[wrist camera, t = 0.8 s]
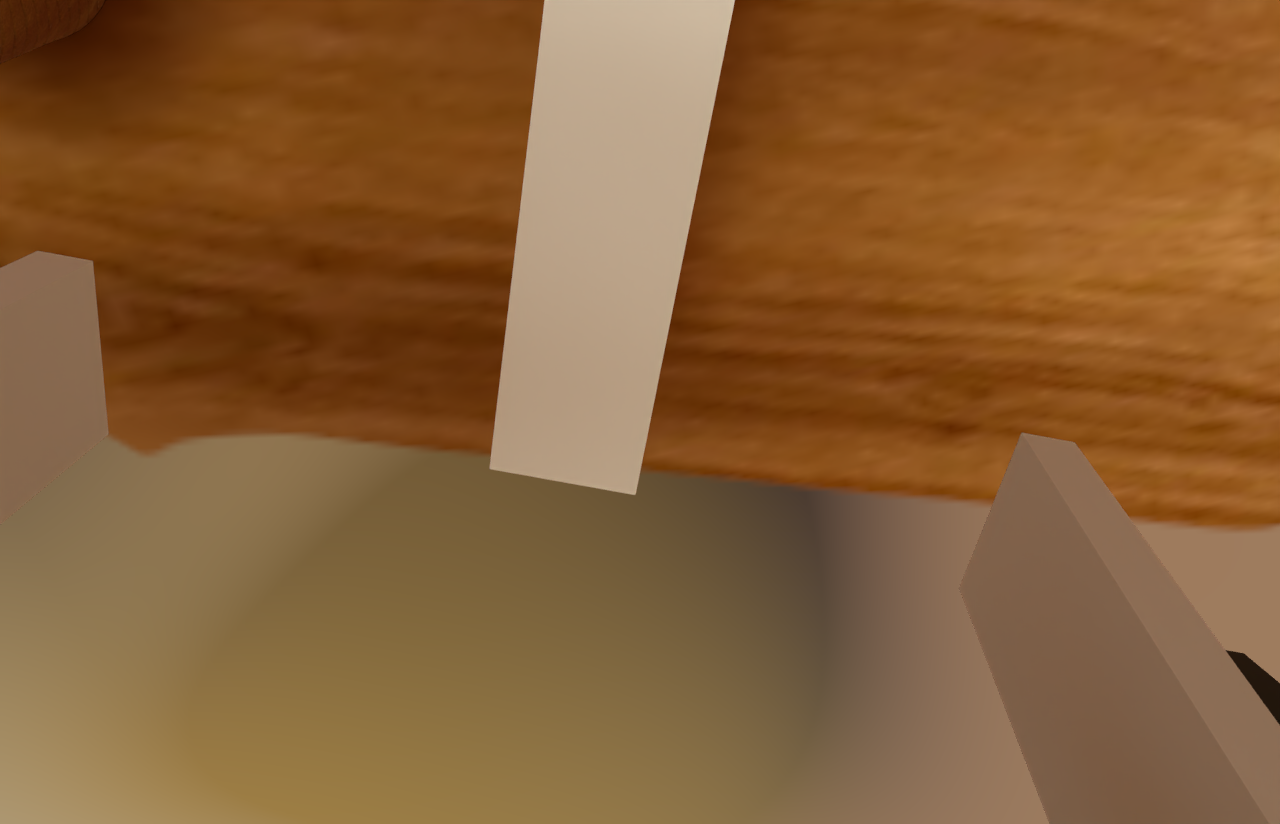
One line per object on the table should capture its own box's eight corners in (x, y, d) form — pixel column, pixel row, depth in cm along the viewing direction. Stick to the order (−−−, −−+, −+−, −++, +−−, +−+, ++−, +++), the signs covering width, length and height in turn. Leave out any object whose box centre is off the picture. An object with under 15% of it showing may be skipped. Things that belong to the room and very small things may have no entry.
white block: (652, 351, 35) (635, 495, 26) (543, 331, 35) (489, 469, 26) (734, -74, 29) (750, -78, 20) (602, -100, 28) (558, -115, 20)
